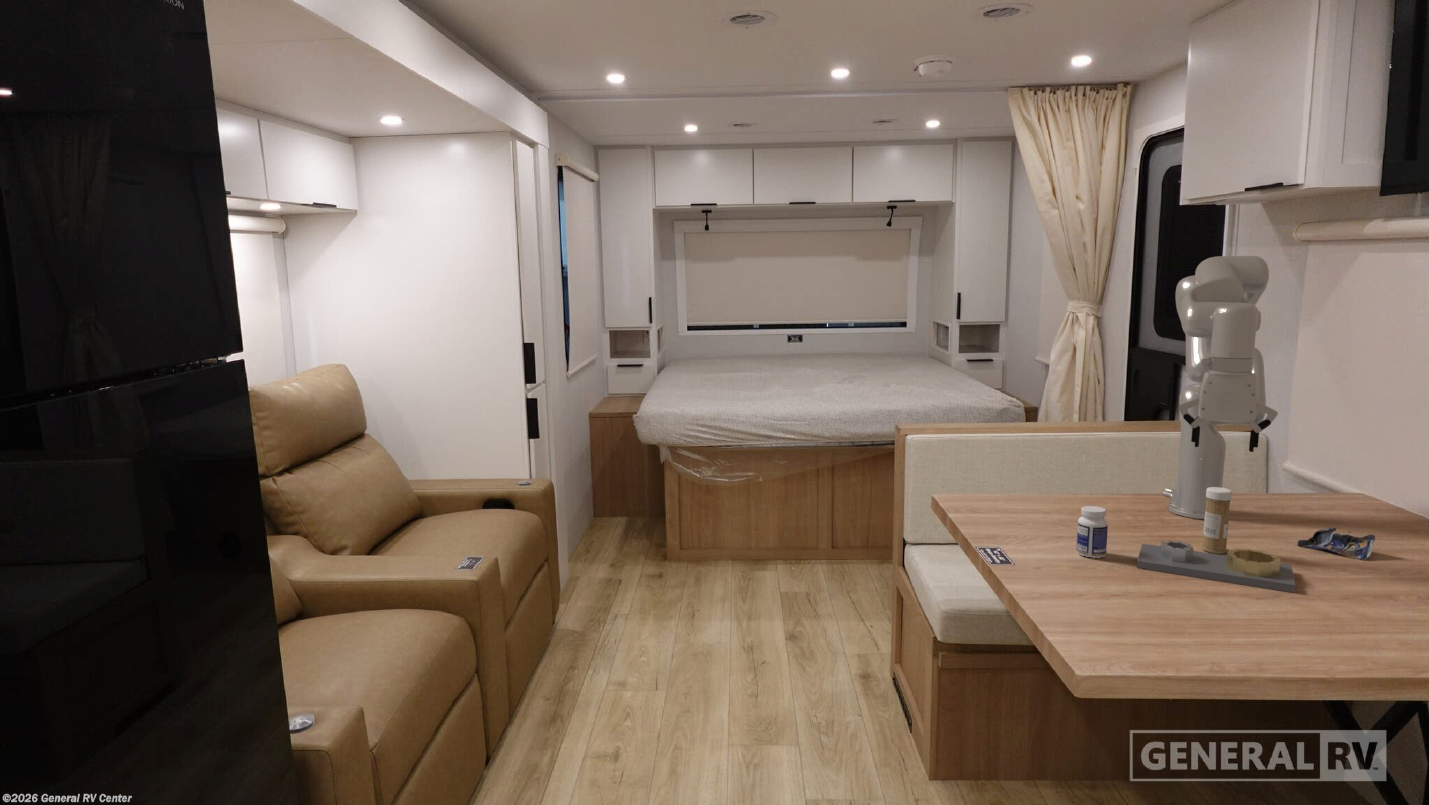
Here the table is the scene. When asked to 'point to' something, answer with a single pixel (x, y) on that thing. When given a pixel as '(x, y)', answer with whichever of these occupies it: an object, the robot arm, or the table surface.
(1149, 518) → the table surface
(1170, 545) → the steel collar
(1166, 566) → the mounting board
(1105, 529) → the pill bottle
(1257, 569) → the brass collar
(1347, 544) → the snack package
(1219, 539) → the sprinkles bottle
